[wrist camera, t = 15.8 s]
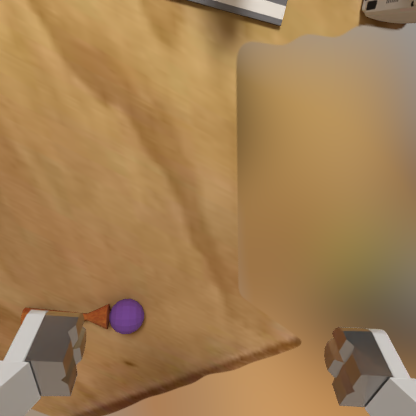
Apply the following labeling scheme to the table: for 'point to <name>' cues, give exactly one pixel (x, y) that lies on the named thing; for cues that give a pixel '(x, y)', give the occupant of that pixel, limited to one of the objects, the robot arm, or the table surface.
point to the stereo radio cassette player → (391, 10)
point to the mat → (251, 8)
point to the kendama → (112, 316)
